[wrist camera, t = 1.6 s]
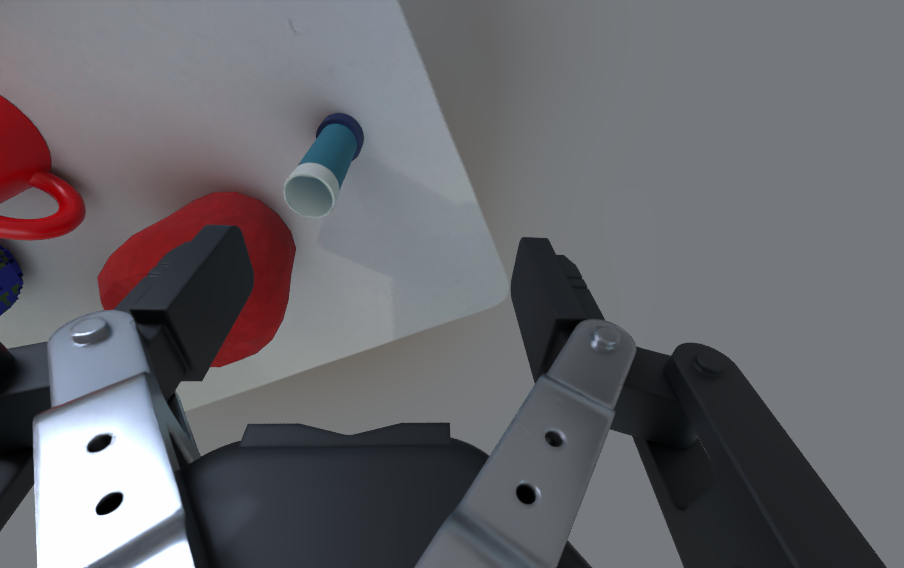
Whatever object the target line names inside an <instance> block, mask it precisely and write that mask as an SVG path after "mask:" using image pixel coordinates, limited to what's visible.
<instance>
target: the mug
mask: <svg viewBox="0 0 904 568" xmlns="http://www.w3.org/2000/svg"><path fill="white" fill-rule="evenodd" d="M50 169H51V157H50V152H49V149H48V147H47V145H46V142H45V140H44V139H43V137H42V136H41V134H40V132H39V131H38V129H37V128H36V127H35V126H34V125H33V123H32V122H31V121H30V120H29V119H28V118H27V117H26V116H25V115H24V114H23V113H22V112H21V111H20V110H19V109H18V108H17V107H15V106H14V105H13V104H11V103H10V102H9V101H7V100H6V99H5V98H3V97H2V96H0V203H2V202H4V201H6V200H8V199H10V198H12V197H14V196H16V195H18V194H19V193H21V192H23V191H25V190H27V189H29V188H31V187H36V188H38V189H40V190H43V191H44V192H46V193H48V194H49V195H50V196H52V197H53V198H54V199H55V200H56V201H57V203H58V204H59V210H58V212H56V213H55V214H53V215H51V216H48V217H45V218H39V219H16V218H9V217H4V216H0V238H5V239H14V240H43V239H50V238H55V237H59V236H62V235H65V234H67V233H69V232H71V231H73V230H74V229H75V228H77V227H78V226H79V225H80V224H81V222H82V221H83V220H84V218H85V214H86V209H85V204H84V201H83V199H82V197H81V195H80V194H79V193H78V192H77V191H76V190H75V189H74V188H73V187H72V186H71V185H70V184H68V183H67V182H65V181H64V180H62V179H61V178H59V177H57V176H55V175H53V174H51V173H49V172H50Z"/></svg>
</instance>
